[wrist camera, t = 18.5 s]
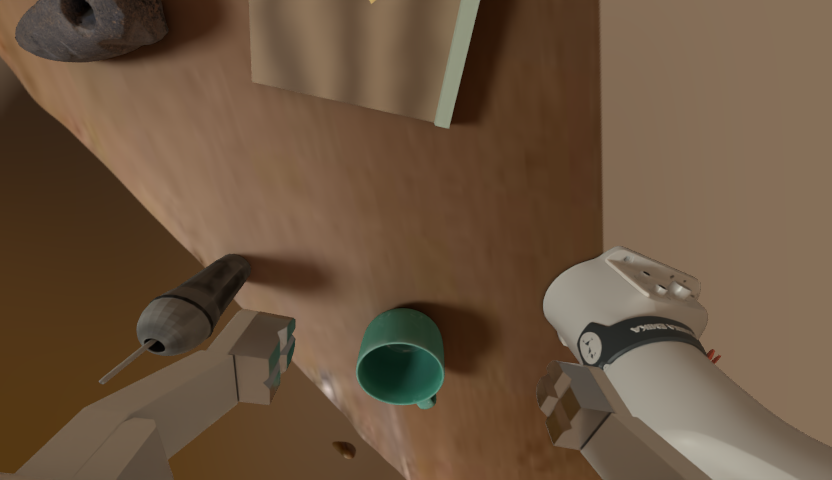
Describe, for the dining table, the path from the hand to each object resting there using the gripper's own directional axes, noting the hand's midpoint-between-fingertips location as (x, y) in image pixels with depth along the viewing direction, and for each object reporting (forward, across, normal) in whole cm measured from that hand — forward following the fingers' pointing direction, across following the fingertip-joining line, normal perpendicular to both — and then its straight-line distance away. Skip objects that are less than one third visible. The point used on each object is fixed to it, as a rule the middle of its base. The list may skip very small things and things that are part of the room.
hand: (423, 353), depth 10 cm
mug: (+31, +4, -30) cm, 44 cm away
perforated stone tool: (+31, -34, +6) cm, 47 cm away
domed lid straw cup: (+31, -24, -22) cm, 45 cm away
